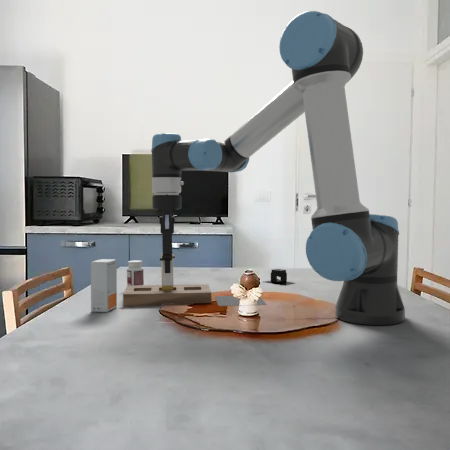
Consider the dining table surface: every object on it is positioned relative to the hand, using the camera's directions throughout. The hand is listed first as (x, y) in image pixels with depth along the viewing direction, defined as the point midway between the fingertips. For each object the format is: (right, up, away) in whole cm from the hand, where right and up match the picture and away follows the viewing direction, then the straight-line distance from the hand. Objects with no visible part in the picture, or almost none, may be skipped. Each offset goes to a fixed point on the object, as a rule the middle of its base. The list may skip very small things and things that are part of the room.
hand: (167, 284), depth 139 cm
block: (0, -4, 0) cm, 4 cm away
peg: (0, -4, 0) cm, 4 cm away
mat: (+19, -4, -2) cm, 19 cm away
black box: (+32, -3, +27) cm, 42 cm away
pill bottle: (-11, -4, +15) cm, 19 cm away
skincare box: (-14, -5, -11) cm, 18 cm away
